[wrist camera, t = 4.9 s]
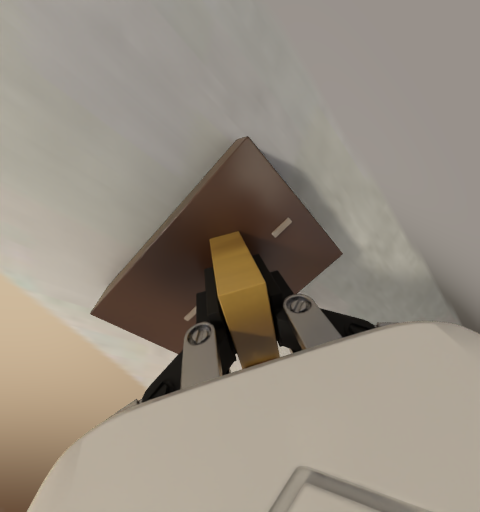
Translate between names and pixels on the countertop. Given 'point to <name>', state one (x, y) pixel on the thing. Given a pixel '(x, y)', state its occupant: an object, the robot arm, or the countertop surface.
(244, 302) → the thumbturn
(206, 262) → the plate
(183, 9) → the countertop surface
